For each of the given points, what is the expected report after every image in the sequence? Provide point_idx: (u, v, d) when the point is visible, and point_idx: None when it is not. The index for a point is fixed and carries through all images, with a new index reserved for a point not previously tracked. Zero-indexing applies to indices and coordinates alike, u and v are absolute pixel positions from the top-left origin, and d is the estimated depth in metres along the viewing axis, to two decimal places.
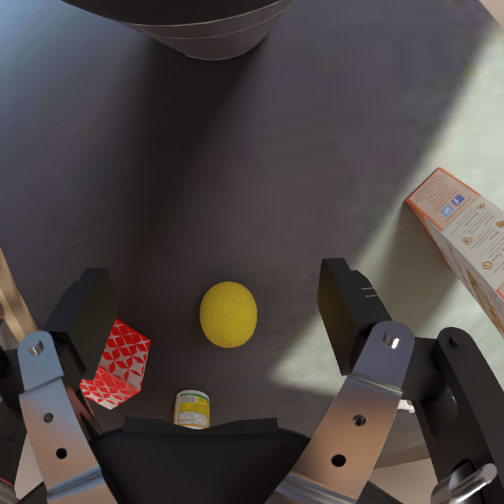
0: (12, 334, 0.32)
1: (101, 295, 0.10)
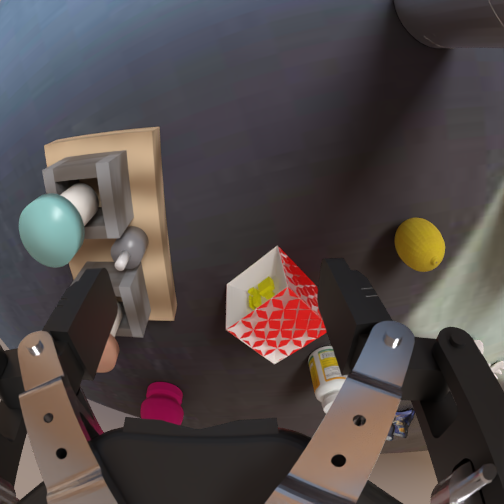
0: (143, 282, 0.33)
1: (101, 295, 0.10)
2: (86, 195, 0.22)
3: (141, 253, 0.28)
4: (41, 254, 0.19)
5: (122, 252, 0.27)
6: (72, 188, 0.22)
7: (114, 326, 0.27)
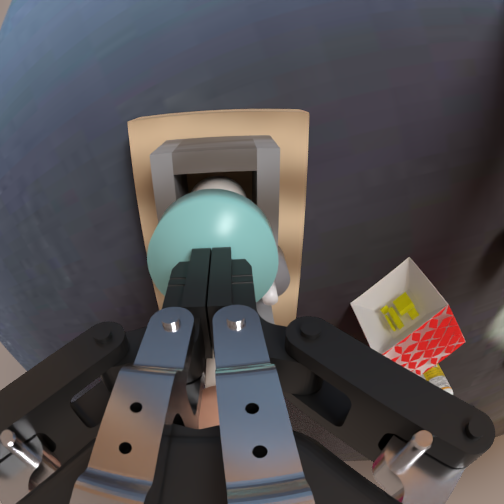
0: None
1: None
2: (242, 194, 0.16)
3: None
4: None
5: None
6: (216, 183, 0.16)
7: None
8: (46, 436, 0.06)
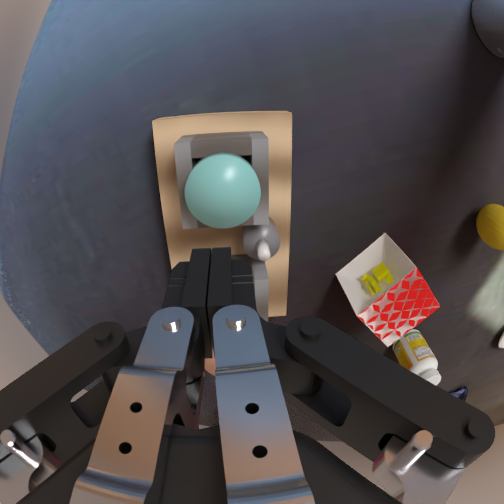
0: None
1: None
2: None
3: (279, 242, 0.27)
4: (210, 214, 0.22)
5: (260, 241, 0.27)
6: None
7: None
8: (46, 436, 0.06)
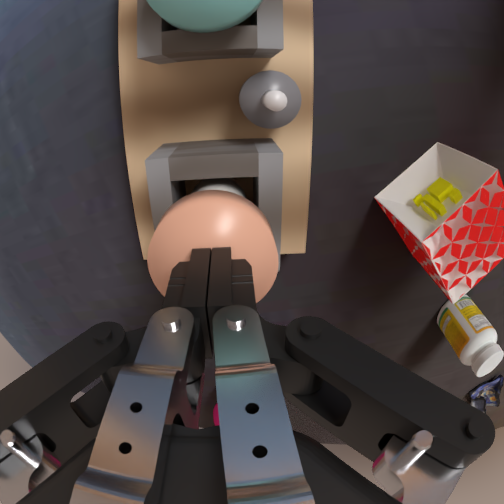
0: None
1: None
2: None
3: (300, 99, 0.15)
4: (182, 4, 0.09)
5: (268, 91, 0.14)
6: None
7: None
8: (46, 436, 0.06)
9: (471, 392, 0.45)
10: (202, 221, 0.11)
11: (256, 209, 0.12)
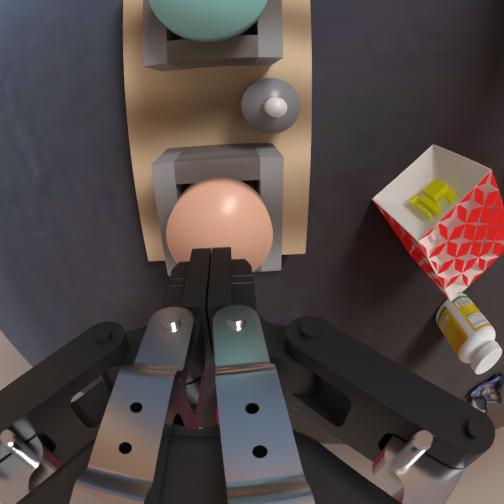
0: None
1: None
2: None
3: (299, 105, 0.16)
4: (186, 15, 0.10)
5: (269, 97, 0.15)
6: None
7: None
8: (46, 436, 0.06)
9: (471, 391, 0.45)
10: (212, 200, 0.14)
11: (254, 192, 0.15)
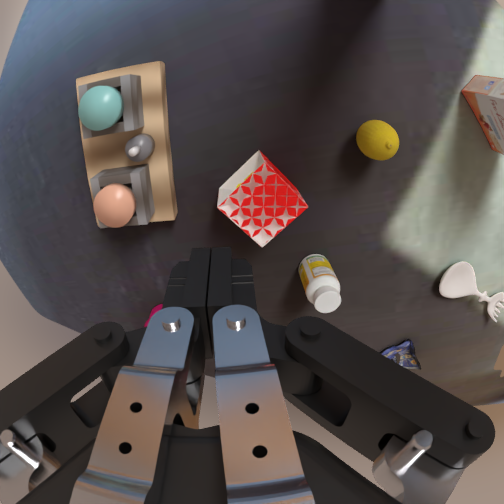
0: (149, 183, 0.40)
1: None
2: None
3: (149, 147, 0.35)
4: (92, 122, 0.29)
5: (134, 146, 0.34)
6: None
7: None
8: (46, 436, 0.06)
9: None
10: (108, 192, 0.33)
11: (126, 188, 0.34)
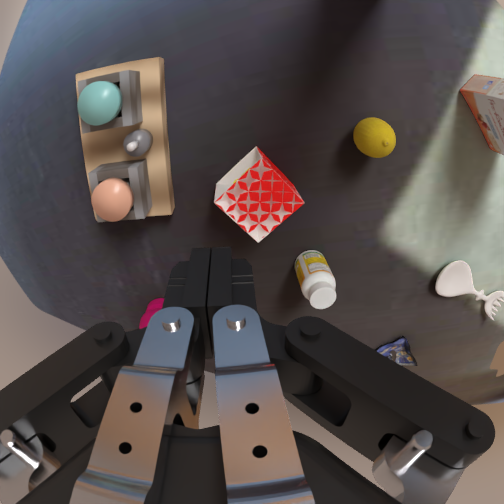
0: (147, 178, 0.40)
1: None
2: None
3: (147, 142, 0.35)
4: (91, 117, 0.29)
5: (133, 141, 0.34)
6: None
7: None
8: (46, 436, 0.06)
9: None
10: (106, 187, 0.33)
11: (124, 182, 0.34)
